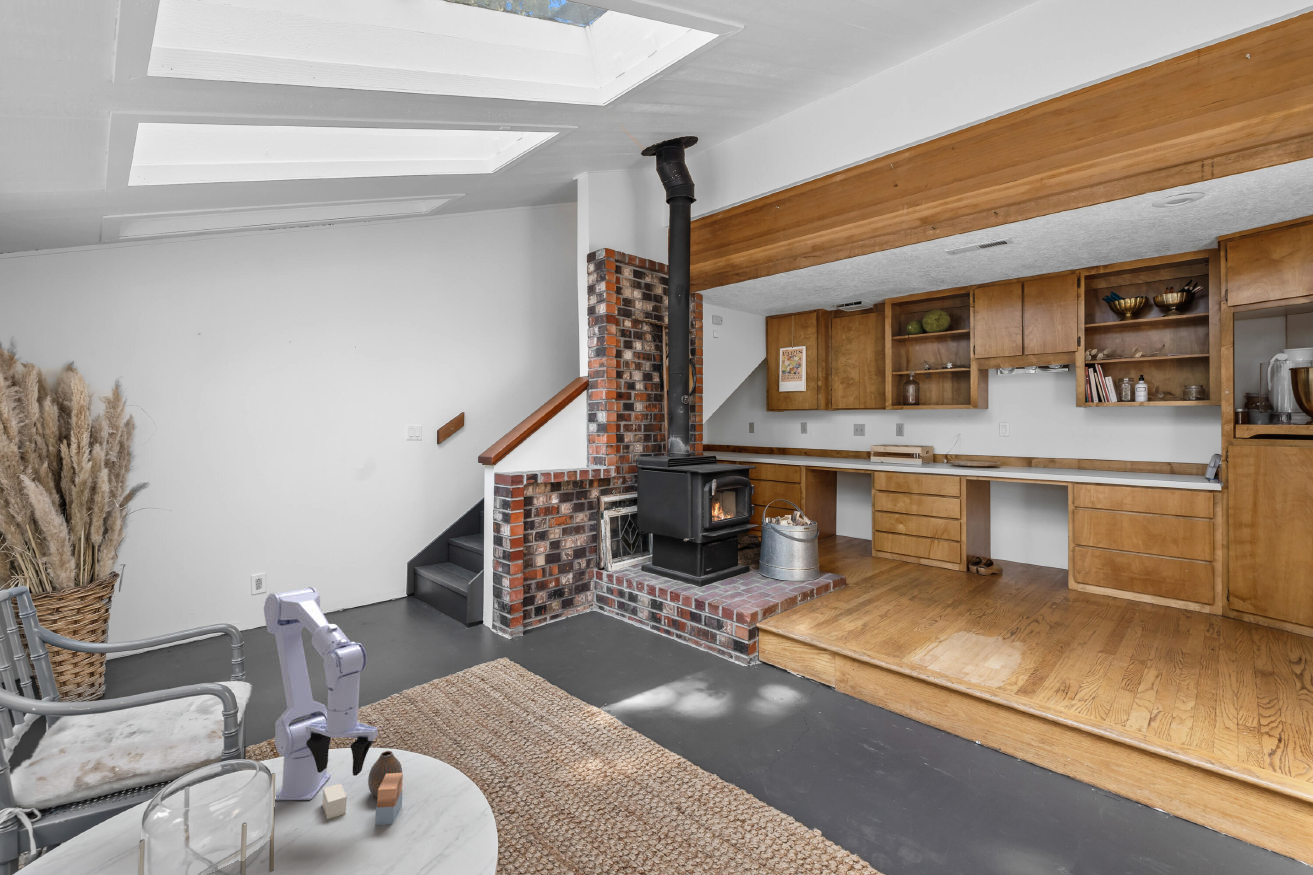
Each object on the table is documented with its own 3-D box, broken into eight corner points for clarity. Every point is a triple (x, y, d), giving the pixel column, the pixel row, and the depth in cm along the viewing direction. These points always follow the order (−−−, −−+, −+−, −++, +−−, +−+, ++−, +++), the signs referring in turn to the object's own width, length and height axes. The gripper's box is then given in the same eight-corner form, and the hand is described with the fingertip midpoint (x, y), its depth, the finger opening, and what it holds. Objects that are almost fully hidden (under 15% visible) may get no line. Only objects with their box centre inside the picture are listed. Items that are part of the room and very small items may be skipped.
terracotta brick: (394, 806, 120) (395, 788, 120) (377, 807, 120) (377, 789, 120) (402, 789, 126) (402, 772, 126) (385, 790, 125) (386, 773, 126)
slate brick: (385, 807, 125) (385, 790, 126) (401, 806, 126) (402, 789, 126) (375, 825, 120) (376, 807, 120) (392, 824, 120) (393, 806, 120)
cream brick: (322, 805, 125) (323, 788, 125) (340, 799, 127) (340, 783, 128) (327, 819, 121) (328, 802, 121) (345, 813, 123) (346, 796, 123)
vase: (392, 803, 127) (394, 762, 127) (361, 801, 127) (363, 760, 127) (406, 785, 134) (408, 746, 134) (377, 783, 134) (379, 744, 134)
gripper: (386, 699, 125) (383, 763, 125) (322, 694, 126) (319, 758, 126) (368, 714, 118) (364, 782, 118) (300, 709, 119) (296, 776, 119)
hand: (339, 771), depth 121 cm, fingers open, 7 cm apart
